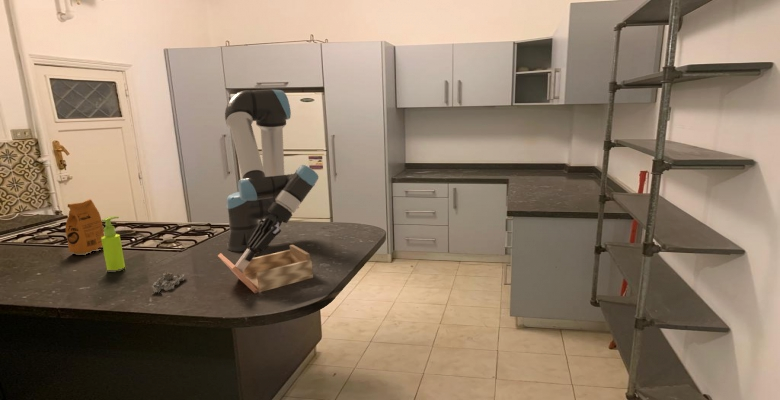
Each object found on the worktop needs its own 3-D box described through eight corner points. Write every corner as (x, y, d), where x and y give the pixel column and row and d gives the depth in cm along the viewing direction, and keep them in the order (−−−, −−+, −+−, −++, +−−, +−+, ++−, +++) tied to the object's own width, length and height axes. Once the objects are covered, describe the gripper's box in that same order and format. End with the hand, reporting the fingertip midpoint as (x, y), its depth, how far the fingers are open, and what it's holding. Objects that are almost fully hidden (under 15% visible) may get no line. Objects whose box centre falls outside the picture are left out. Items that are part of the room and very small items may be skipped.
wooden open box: (293, 267, 162) (291, 243, 160) (313, 280, 149) (310, 254, 147) (243, 280, 152) (240, 254, 150) (260, 295, 139) (257, 267, 137)
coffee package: (65, 255, 188) (55, 204, 183) (92, 246, 200) (83, 198, 195) (83, 257, 185) (73, 205, 181) (110, 247, 197) (101, 198, 192)
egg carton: (167, 281, 154) (166, 270, 154) (188, 281, 154) (187, 270, 153) (148, 294, 144) (147, 282, 143) (171, 294, 143) (169, 282, 142)
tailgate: (242, 276, 151) (220, 253, 146) (258, 291, 139) (235, 265, 133) (239, 279, 151) (217, 255, 146) (255, 294, 138) (232, 268, 133)
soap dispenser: (131, 267, 170) (122, 215, 166) (115, 273, 164) (105, 220, 160) (120, 265, 172) (111, 215, 168) (103, 272, 166) (93, 219, 162)
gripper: (300, 217, 143) (255, 280, 137) (284, 210, 154) (241, 268, 148) (283, 203, 139) (236, 267, 133) (267, 198, 150) (223, 257, 144)
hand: (239, 268), depth 141 cm, fingers closed, pressing on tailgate
